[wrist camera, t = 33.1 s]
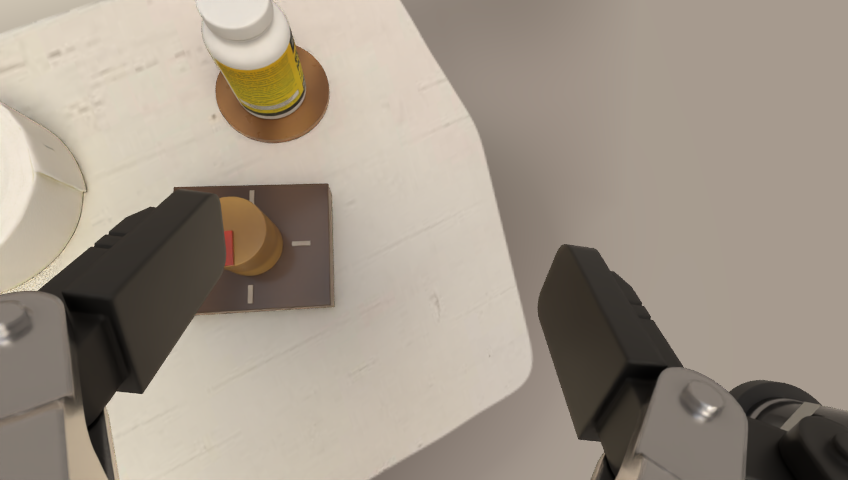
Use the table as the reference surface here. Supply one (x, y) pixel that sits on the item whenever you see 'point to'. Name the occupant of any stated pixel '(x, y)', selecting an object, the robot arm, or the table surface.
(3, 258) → the tape roll
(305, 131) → the coaster
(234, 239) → the knob
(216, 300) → the panel
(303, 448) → the table surface
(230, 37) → the pill bottle
